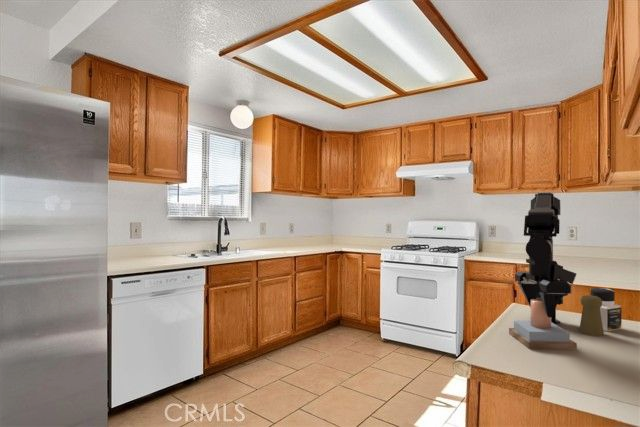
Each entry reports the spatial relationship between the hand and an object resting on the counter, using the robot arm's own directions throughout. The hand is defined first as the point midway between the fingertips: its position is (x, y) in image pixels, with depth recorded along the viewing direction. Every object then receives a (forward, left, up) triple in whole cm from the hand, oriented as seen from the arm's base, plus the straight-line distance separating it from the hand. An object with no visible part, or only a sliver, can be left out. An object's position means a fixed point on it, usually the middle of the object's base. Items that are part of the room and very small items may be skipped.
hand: (540, 312), depth 103 cm
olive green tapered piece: (-9, +19, -8) cm, 23 cm away
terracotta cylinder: (0, 0, -4) cm, 4 cm away
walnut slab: (0, 0, -9) cm, 9 cm away
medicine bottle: (-15, +26, -8) cm, 31 cm away
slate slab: (0, 0, -6) cm, 6 cm away
